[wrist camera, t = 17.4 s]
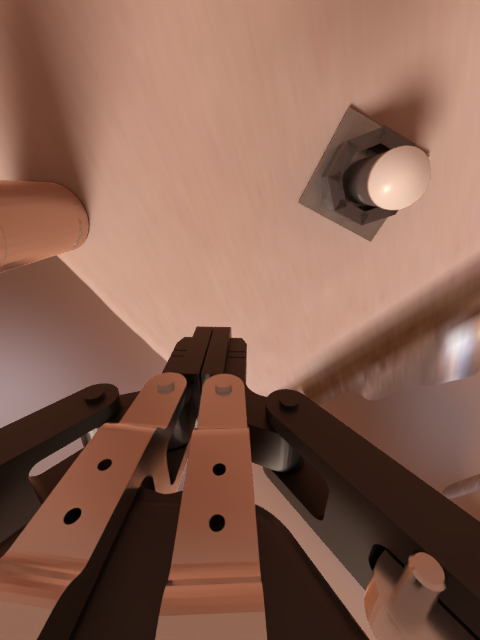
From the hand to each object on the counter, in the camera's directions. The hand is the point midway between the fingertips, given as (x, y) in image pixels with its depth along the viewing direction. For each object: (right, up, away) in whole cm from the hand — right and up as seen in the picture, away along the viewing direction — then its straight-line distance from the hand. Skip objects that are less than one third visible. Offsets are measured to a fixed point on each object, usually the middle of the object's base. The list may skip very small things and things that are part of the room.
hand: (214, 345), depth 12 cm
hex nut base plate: (+16, +19, +22) cm, 33 cm away
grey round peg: (+16, +18, +22) cm, 33 cm away
